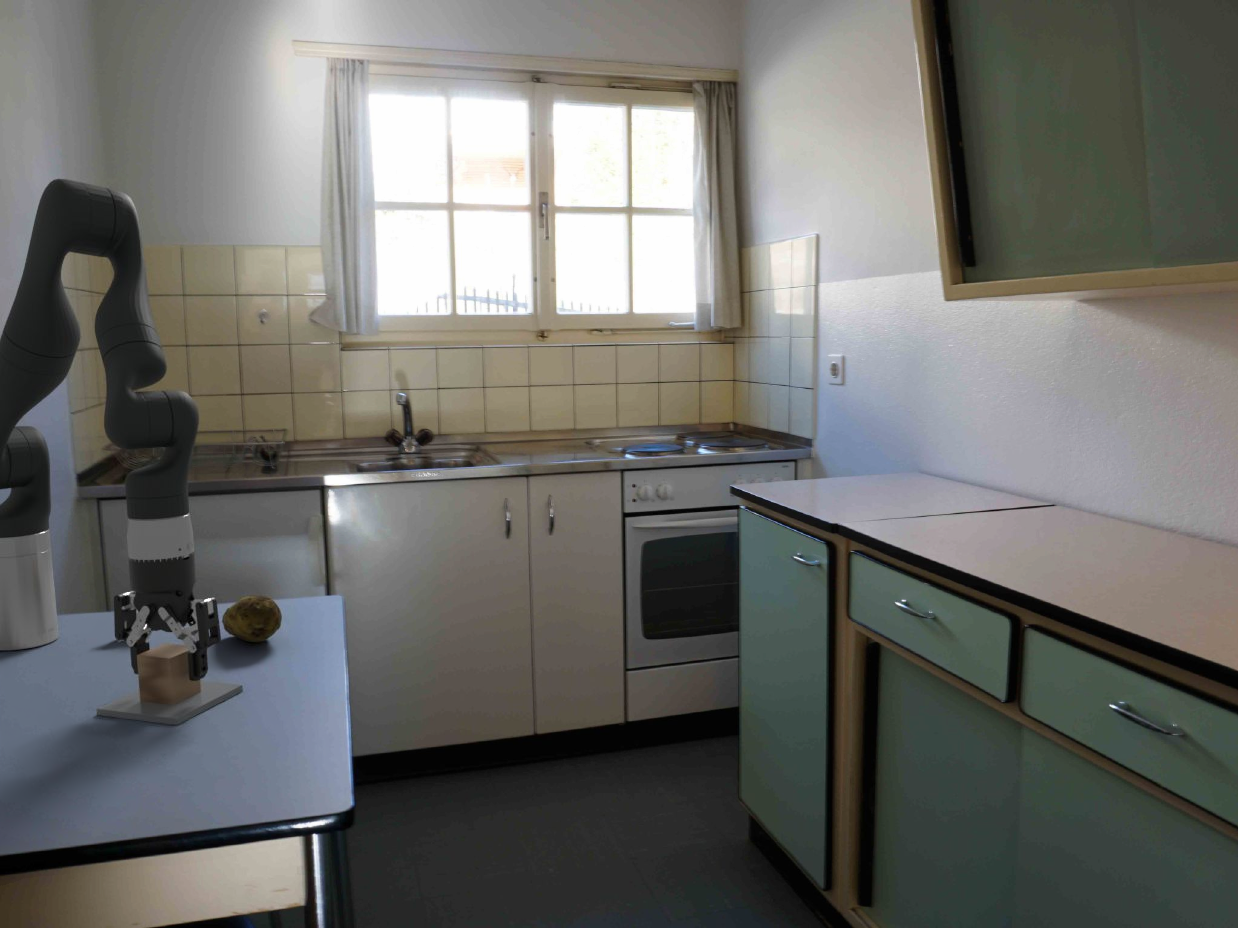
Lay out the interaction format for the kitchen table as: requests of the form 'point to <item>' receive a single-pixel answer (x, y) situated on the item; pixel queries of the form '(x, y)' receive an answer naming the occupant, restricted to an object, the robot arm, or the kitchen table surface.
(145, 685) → the block
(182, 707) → the coaster
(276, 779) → the kitchen table surface
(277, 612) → the potato
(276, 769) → the kitchen table surface
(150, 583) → the robot arm
